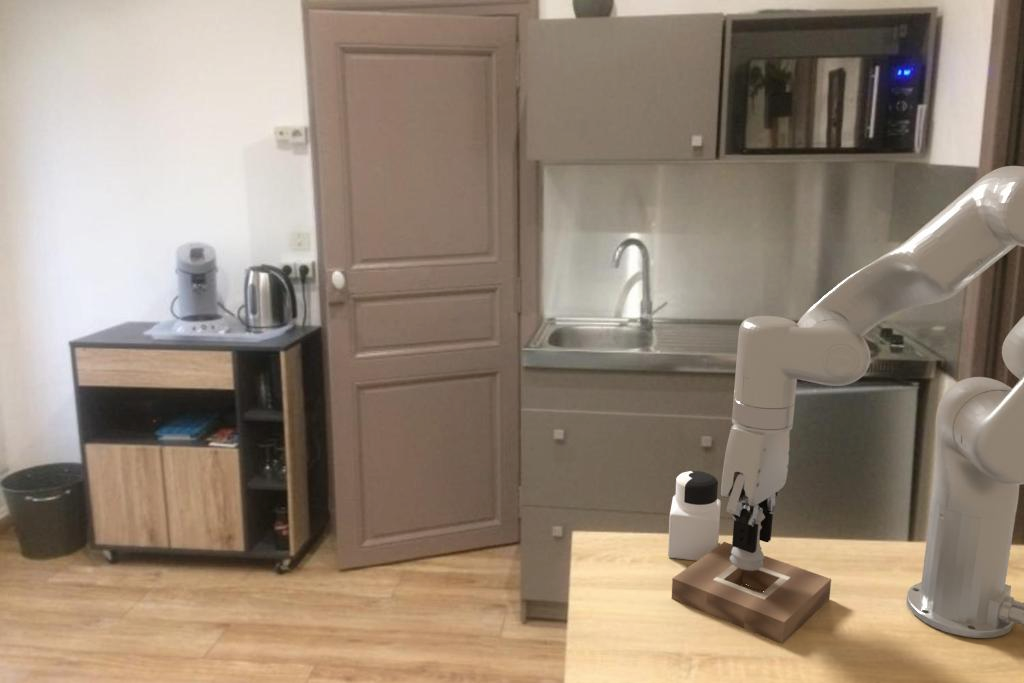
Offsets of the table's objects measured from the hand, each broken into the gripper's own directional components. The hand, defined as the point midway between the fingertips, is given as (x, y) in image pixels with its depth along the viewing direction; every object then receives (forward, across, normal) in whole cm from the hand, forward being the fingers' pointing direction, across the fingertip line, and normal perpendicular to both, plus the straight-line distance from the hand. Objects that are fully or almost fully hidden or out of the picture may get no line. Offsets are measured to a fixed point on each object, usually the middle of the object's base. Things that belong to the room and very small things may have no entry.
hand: (751, 542), depth 117 cm
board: (+8, 0, 0) cm, 8 cm away
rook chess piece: (+3, 0, 0) cm, 3 cm away
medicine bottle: (+9, -7, -13) cm, 17 cm away
